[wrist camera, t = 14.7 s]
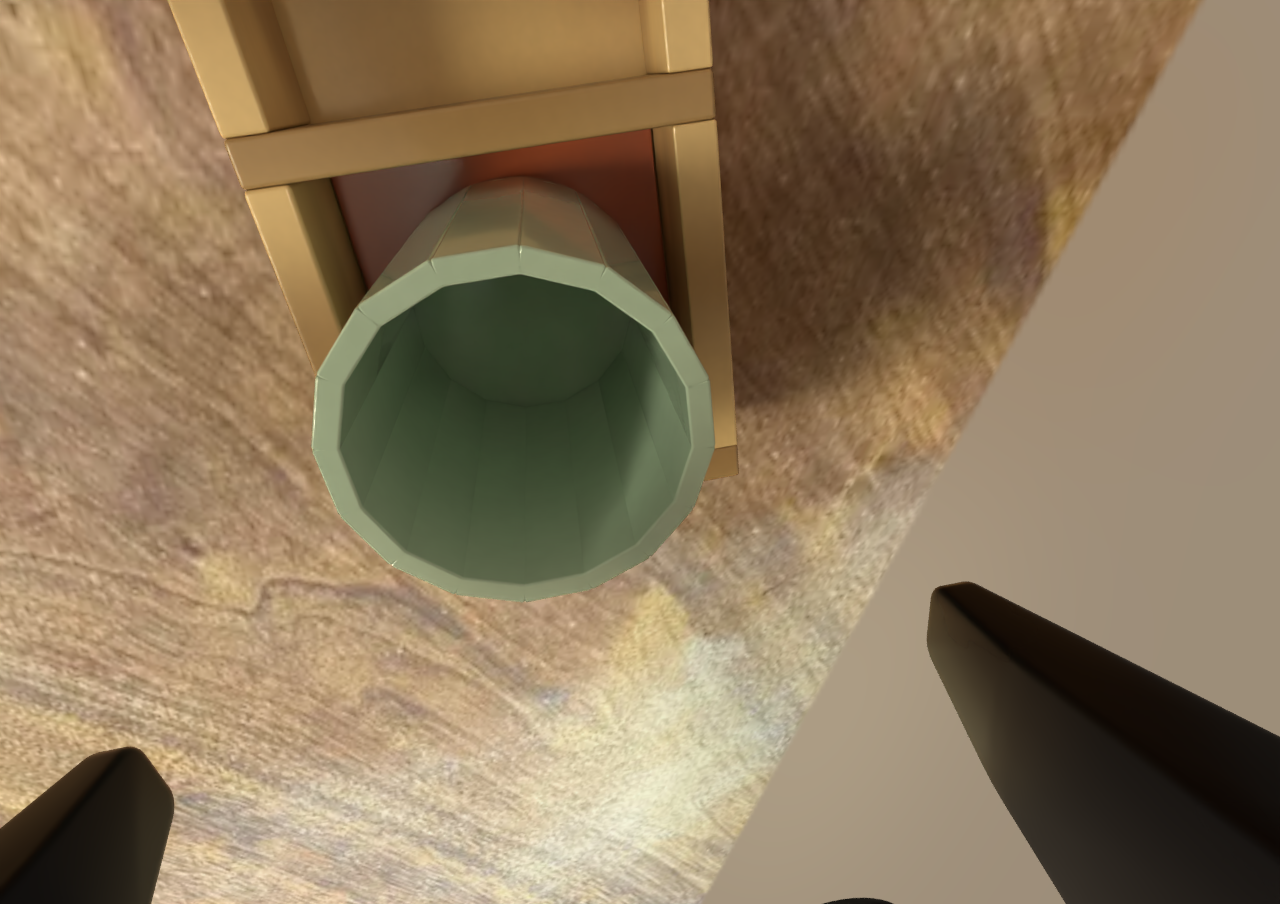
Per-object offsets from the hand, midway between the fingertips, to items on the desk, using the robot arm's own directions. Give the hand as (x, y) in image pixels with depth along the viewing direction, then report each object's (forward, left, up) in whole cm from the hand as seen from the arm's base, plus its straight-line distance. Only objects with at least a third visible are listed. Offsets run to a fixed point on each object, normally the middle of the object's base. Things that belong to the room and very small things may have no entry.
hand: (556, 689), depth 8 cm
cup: (+2, 0, -10) cm, 10 cm away
